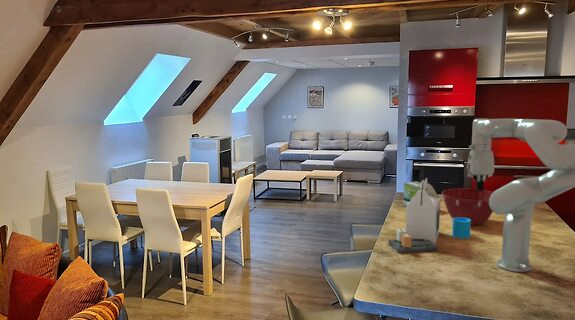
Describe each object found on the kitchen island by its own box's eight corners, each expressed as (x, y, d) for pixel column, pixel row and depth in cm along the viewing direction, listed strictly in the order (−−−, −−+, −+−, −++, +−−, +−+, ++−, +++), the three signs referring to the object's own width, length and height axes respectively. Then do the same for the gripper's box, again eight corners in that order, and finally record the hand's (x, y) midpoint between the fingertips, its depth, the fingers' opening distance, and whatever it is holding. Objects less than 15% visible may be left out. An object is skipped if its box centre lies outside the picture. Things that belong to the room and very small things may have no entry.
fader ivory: (405, 241, 209) (405, 231, 208) (399, 241, 208) (399, 231, 208) (402, 238, 213) (402, 228, 212) (396, 238, 212) (396, 228, 212)
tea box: (402, 205, 285) (403, 182, 283) (415, 204, 289) (416, 181, 287) (419, 211, 272) (420, 186, 270) (432, 209, 276) (433, 185, 274)
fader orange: (411, 247, 201) (411, 236, 200) (404, 247, 200) (404, 236, 200) (407, 244, 205) (408, 233, 204) (401, 244, 204) (401, 233, 204)
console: (437, 250, 202) (437, 246, 202) (397, 252, 200) (397, 247, 200) (426, 242, 214) (426, 237, 214) (388, 244, 212) (388, 239, 212)
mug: (468, 239, 218) (468, 222, 217) (450, 236, 223) (450, 220, 222) (473, 232, 228) (474, 216, 227) (456, 230, 233) (456, 214, 232)
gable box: (412, 229, 236) (413, 175, 232) (439, 232, 231) (441, 177, 227) (405, 242, 216) (406, 183, 212) (434, 245, 210) (436, 185, 207)
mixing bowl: (489, 232, 229) (491, 201, 227) (433, 223, 246) (434, 194, 244) (503, 219, 251) (504, 192, 249) (450, 212, 269) (451, 186, 266)
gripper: (469, 149, 192) (467, 192, 194) (502, 148, 193) (500, 191, 196) (460, 147, 199) (458, 189, 201) (492, 146, 201) (490, 187, 203)
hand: (479, 190), depth 199 cm, fingers closed
